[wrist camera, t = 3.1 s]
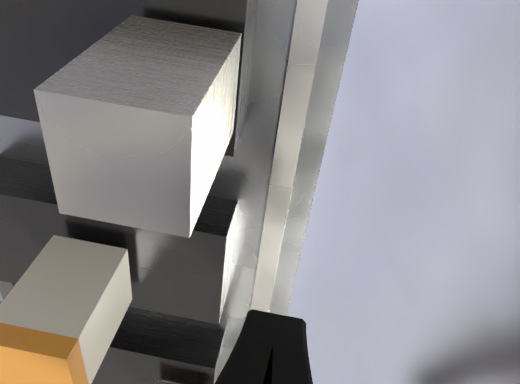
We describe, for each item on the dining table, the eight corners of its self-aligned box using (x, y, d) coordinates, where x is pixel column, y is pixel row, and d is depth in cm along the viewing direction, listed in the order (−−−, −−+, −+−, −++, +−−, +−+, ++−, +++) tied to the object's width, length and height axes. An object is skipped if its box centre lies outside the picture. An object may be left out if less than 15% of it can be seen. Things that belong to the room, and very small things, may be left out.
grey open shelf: (28, 314, 20) (-81, 471, 15) (-110, -118, 11) (-547, -87, 5) (272, 364, 20) (245, 546, 14) (364, -47, 10) (380, 64, 5)
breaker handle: (64, 285, 13) (-5, 391, 11) (52, 234, 12) (-29, 339, 9) (132, 299, 13) (80, 409, 10) (128, 248, 12) (66, 359, 9)
